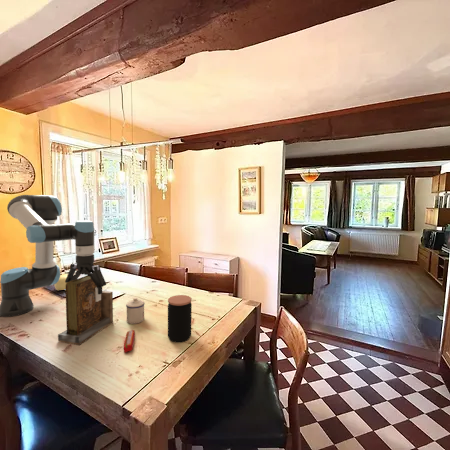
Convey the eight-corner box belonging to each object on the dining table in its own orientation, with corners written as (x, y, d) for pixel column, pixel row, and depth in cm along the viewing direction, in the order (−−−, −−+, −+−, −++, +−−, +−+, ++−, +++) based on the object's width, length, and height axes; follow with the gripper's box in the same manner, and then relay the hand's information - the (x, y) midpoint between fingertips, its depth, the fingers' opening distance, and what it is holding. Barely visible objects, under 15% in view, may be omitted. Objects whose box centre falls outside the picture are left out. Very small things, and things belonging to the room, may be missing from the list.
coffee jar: (180, 329, 124) (181, 293, 123) (196, 336, 118) (196, 298, 116) (162, 337, 116) (162, 299, 115) (178, 346, 109) (178, 305, 108)
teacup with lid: (147, 320, 132) (147, 299, 131) (129, 325, 126) (129, 303, 125) (138, 313, 141) (138, 292, 140) (122, 317, 136) (121, 296, 135)
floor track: (58, 341, 111) (57, 306, 110) (94, 319, 132) (93, 289, 131) (79, 345, 109) (78, 309, 107) (113, 322, 130) (112, 291, 129)
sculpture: (73, 285, 185) (72, 271, 184) (74, 290, 175) (74, 275, 174) (54, 288, 178) (53, 273, 178) (54, 293, 169) (54, 277, 168)
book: (93, 321, 128) (92, 273, 126) (103, 323, 127) (102, 274, 125) (66, 338, 112) (65, 283, 110) (77, 340, 111) (75, 284, 109)
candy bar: (127, 335, 118) (127, 328, 118) (135, 334, 119) (135, 327, 119) (122, 354, 103) (122, 347, 103) (132, 353, 104) (132, 346, 104)
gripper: (55, 253, 116) (56, 298, 118) (103, 258, 111) (103, 305, 113) (68, 250, 123) (69, 293, 125) (114, 254, 118) (114, 299, 120)
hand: (85, 299), depth 119 cm, fingers open, 13 cm apart
